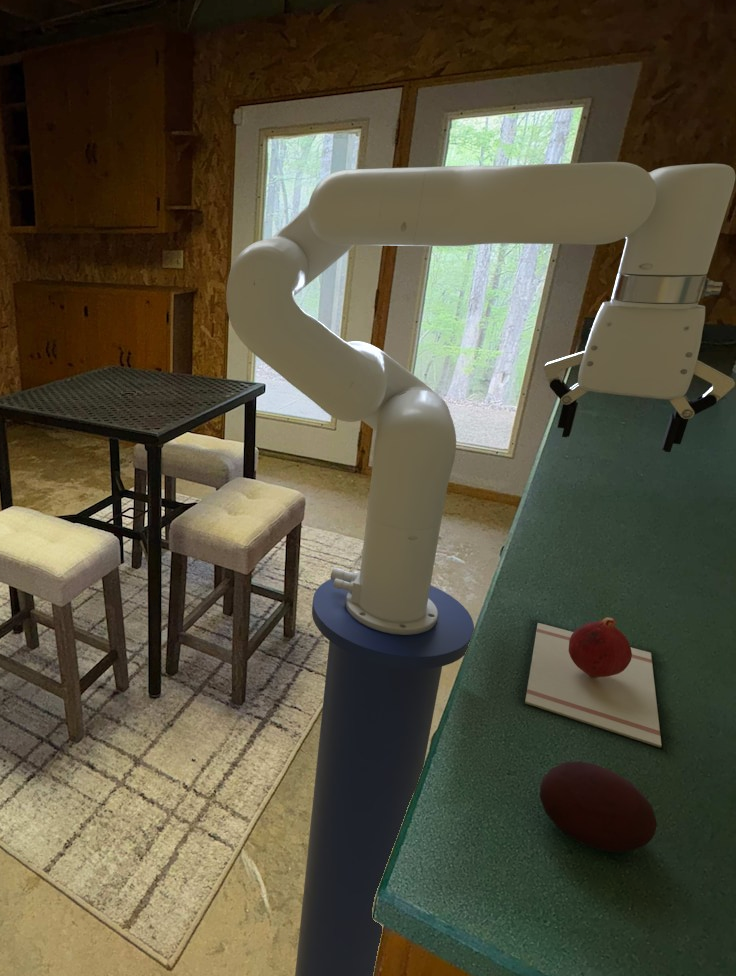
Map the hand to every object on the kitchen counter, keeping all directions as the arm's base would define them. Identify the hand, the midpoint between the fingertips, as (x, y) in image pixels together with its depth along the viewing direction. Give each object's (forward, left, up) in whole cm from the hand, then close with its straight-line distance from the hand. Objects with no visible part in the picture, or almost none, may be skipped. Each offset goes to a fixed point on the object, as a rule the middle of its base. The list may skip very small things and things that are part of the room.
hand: (614, 441), depth 74 cm
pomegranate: (+3, -11, -26) cm, 28 cm away
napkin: (+3, -11, -26) cm, 28 cm away
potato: (+3, -35, -26) cm, 44 cm away
